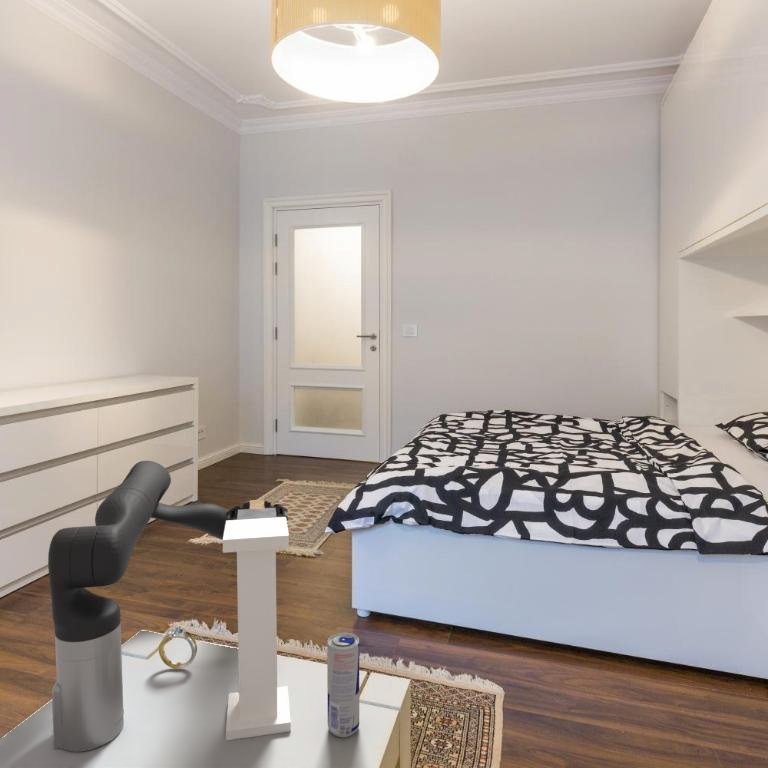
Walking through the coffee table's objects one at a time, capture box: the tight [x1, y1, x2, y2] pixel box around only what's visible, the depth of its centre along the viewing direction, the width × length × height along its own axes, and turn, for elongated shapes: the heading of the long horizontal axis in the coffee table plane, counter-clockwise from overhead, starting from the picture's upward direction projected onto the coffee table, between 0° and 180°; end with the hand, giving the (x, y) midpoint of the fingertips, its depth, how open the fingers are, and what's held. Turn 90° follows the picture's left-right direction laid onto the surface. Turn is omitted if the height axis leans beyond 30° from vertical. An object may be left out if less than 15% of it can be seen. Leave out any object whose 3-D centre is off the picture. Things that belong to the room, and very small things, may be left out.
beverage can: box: [326, 632, 360, 738], centre depth 91 cm, size 5×5×15 cm
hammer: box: [237, 499, 276, 520], centre depth 112 cm, size 7×18×5 cm, turn 12°
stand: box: [222, 517, 292, 741], centre depth 94 cm, size 10×10×32 cm
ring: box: [158, 626, 198, 670], centre depth 109 cm, size 7×3×8 cm, turn 83°
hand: (256, 505), depth 116 cm, fingers closed on hammer, 3 cm apart
